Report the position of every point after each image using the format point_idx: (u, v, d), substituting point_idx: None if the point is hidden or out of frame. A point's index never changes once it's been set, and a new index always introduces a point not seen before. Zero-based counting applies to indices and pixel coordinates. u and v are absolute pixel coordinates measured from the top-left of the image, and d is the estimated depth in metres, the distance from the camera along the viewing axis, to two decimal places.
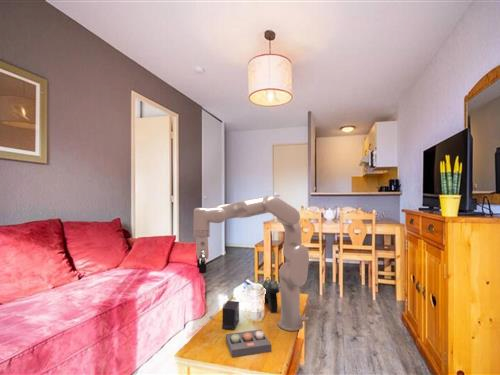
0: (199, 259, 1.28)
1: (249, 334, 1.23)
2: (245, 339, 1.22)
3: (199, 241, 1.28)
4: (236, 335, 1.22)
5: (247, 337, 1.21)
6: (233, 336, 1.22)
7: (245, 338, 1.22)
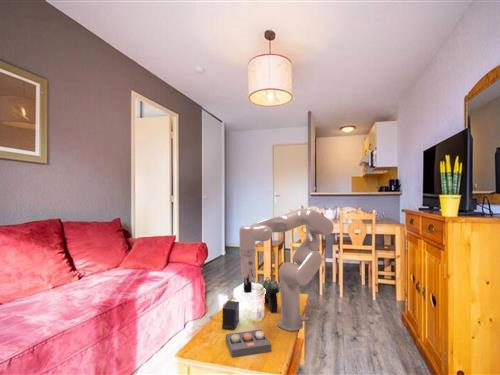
0: (245, 279, 1.30)
1: (249, 334, 1.23)
2: (245, 339, 1.22)
3: (247, 260, 1.27)
4: (236, 335, 1.22)
5: (247, 337, 1.21)
6: (233, 336, 1.22)
7: (245, 338, 1.22)
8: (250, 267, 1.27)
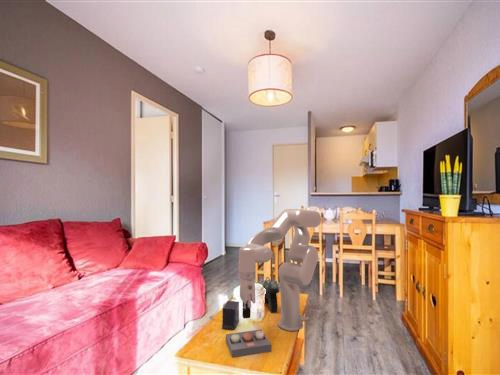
0: (244, 303, 1.22)
1: (249, 334, 1.23)
2: (245, 339, 1.22)
3: (246, 284, 1.19)
4: (236, 335, 1.22)
5: (247, 337, 1.21)
6: (233, 336, 1.22)
7: (245, 338, 1.22)
8: (249, 292, 1.19)
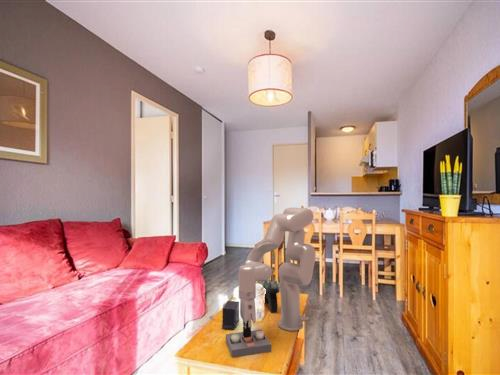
0: (244, 322, 1.22)
1: None
2: (245, 341, 1.22)
3: (246, 304, 1.19)
4: (236, 335, 1.22)
5: (247, 339, 1.21)
6: (233, 336, 1.22)
7: (245, 340, 1.22)
8: (250, 311, 1.19)
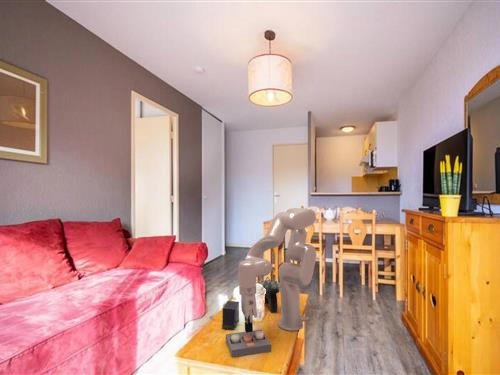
0: (246, 318, 1.22)
1: (249, 337, 1.23)
2: None
3: (247, 300, 1.20)
4: (236, 335, 1.22)
5: (247, 340, 1.21)
6: (233, 336, 1.22)
7: (245, 341, 1.22)
8: (251, 307, 1.19)
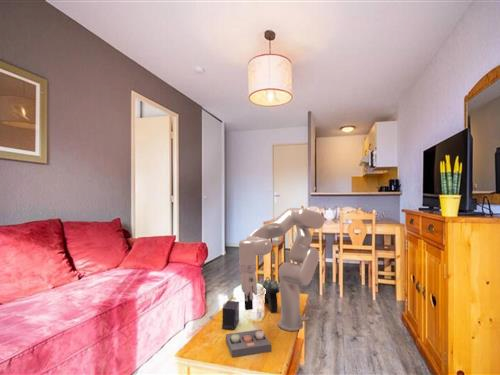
0: (246, 295, 1.23)
1: (249, 337, 1.23)
2: None
3: (247, 277, 1.21)
4: (236, 335, 1.22)
5: (247, 340, 1.21)
6: (233, 336, 1.22)
7: (245, 341, 1.22)
8: (251, 284, 1.20)
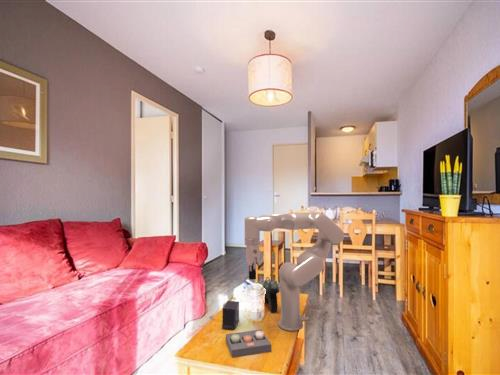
0: (250, 266, 1.37)
1: (249, 337, 1.23)
2: None
3: (251, 249, 1.34)
4: (236, 335, 1.22)
5: (247, 340, 1.21)
6: (233, 336, 1.22)
7: (245, 341, 1.22)
8: (255, 255, 1.34)
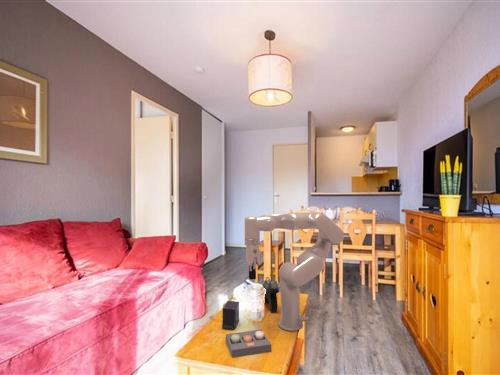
0: (250, 266, 1.37)
1: (249, 337, 1.23)
2: None
3: (251, 249, 1.34)
4: (236, 335, 1.22)
5: (247, 340, 1.21)
6: (233, 336, 1.22)
7: (245, 341, 1.22)
8: (255, 255, 1.34)
